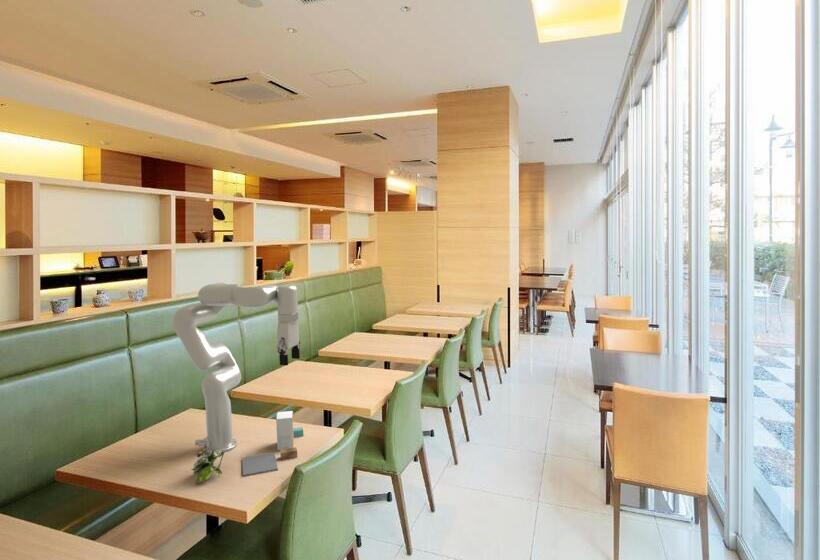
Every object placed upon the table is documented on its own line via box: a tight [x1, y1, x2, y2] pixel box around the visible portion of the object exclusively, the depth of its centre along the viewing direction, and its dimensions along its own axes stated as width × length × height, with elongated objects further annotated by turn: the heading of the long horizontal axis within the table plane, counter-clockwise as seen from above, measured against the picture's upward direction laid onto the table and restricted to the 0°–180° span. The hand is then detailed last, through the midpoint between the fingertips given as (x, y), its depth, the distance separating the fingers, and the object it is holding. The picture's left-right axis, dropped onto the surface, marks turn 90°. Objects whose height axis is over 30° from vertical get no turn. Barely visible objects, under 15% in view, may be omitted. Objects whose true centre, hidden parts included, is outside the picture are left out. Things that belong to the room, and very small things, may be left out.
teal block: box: [293, 427, 304, 439], centre depth 201 cm, size 6×3×3 cm, turn 111°
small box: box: [276, 410, 295, 451], centre depth 192 cm, size 8×6×13 cm
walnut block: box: [279, 447, 298, 461], centre depth 182 cm, size 6×3×3 cm, turn 111°
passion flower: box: [190, 449, 225, 485], centre depth 168 cm, size 11×11×12 cm
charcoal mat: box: [241, 452, 279, 477], centre depth 176 cm, size 12×14×1 cm
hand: (290, 361), depth 181 cm, fingers open, 9 cm apart
